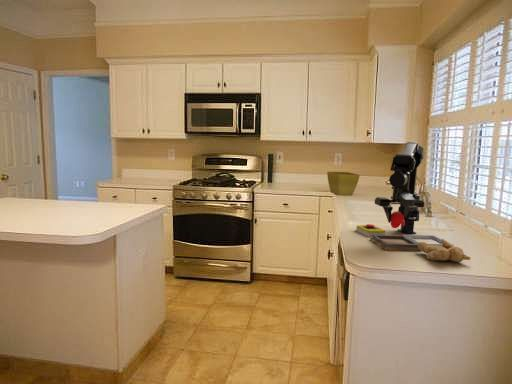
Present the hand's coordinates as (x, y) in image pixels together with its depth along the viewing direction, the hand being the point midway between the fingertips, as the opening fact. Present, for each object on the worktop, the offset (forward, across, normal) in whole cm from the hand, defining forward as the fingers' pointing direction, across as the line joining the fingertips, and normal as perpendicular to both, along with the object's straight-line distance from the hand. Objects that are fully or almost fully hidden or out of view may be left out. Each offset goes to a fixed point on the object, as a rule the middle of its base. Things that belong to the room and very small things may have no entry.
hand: (397, 222), depth 154 cm
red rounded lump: (+2, 0, 0) cm, 2 cm away
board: (+10, 0, 0) cm, 10 cm away
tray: (+10, +17, +5) cm, 20 cm away
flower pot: (+11, +25, +143) cm, 146 cm away
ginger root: (+10, +10, -18) cm, 23 cm away
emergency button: (+10, -3, +18) cm, 21 cm away
